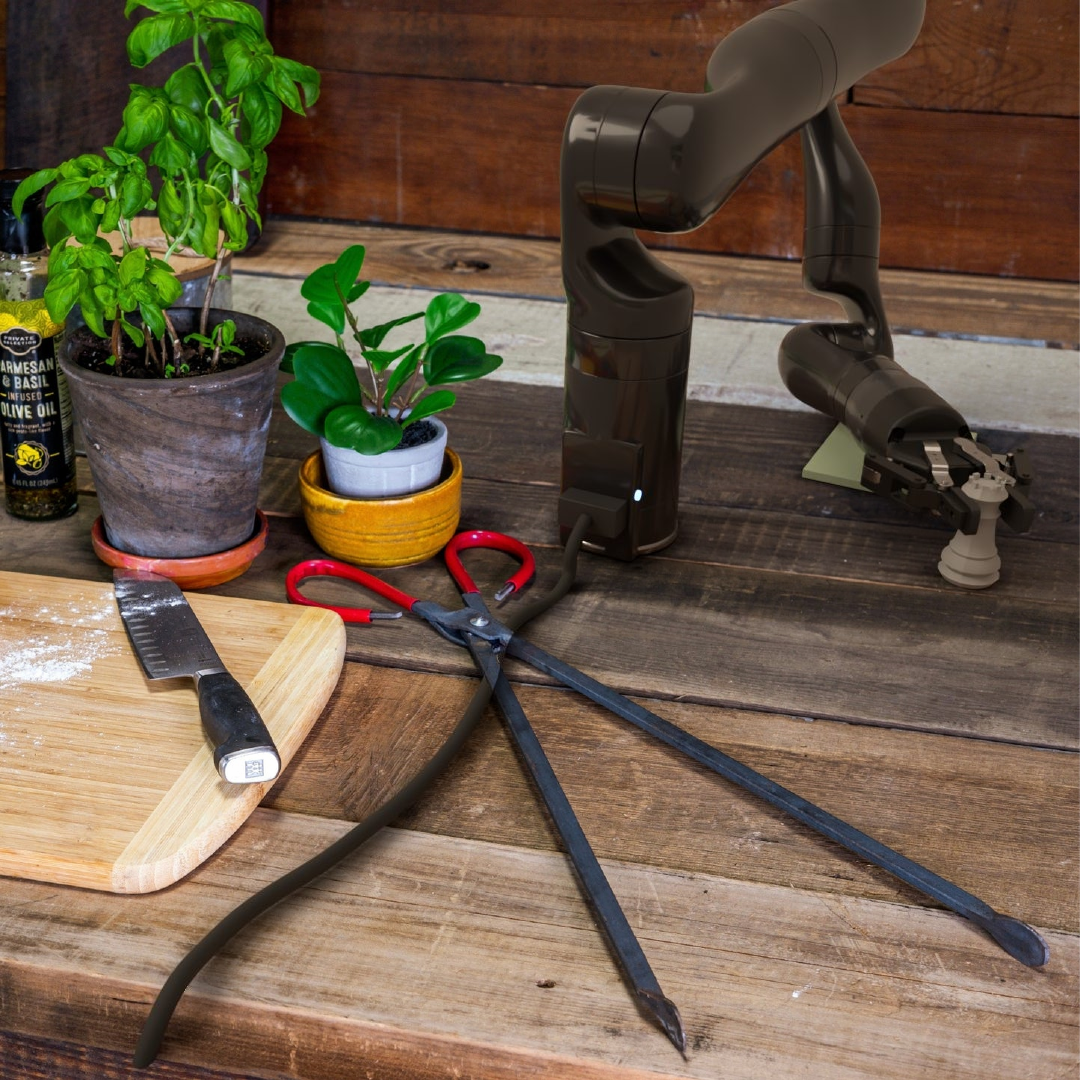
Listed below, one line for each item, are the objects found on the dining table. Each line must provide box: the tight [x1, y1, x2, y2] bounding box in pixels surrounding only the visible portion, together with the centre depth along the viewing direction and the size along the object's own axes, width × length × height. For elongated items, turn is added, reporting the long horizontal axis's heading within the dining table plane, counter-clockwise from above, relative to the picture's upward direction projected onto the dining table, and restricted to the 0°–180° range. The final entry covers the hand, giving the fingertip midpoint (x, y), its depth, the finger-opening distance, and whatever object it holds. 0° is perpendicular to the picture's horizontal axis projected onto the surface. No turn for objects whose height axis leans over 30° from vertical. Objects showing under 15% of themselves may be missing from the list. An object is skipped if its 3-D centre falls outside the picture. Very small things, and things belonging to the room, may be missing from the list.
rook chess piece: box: [937, 473, 1008, 590], centre depth 92 cm, size 4×4×8 cm
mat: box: [801, 421, 978, 495], centre depth 113 cm, size 16×12×1 cm
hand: (1000, 522), depth 89 cm, fingers closed on rook chess piece, 3 cm apart
